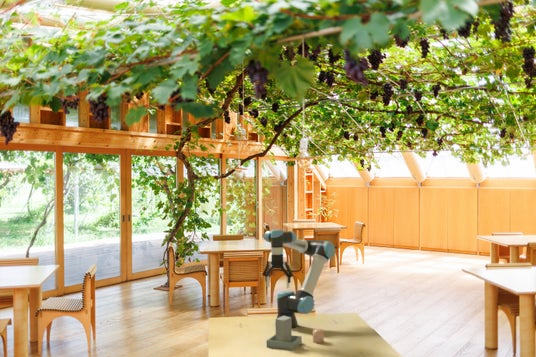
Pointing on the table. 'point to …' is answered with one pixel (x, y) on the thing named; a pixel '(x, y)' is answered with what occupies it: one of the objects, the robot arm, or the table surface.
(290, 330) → the skincare box
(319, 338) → the peach rounded cylinder
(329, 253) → the robot arm
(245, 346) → the table surface
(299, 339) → the bin
